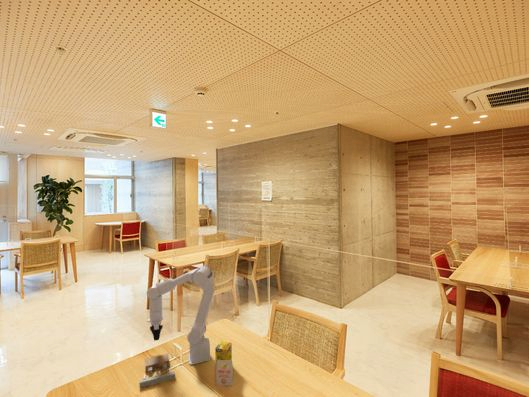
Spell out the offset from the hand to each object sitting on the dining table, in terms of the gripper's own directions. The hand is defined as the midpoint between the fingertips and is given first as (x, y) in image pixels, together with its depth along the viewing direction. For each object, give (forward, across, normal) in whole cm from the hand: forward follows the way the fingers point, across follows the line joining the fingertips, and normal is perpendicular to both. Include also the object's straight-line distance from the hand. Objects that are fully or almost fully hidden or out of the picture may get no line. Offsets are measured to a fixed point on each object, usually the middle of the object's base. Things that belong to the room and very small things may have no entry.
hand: (156, 336), depth 134 cm
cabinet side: (+9, +18, 0) cm, 20 cm away
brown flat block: (+9, +9, 0) cm, 13 cm away
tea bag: (+10, +31, +26) cm, 42 cm away
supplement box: (+10, +22, +28) cm, 37 cm away
